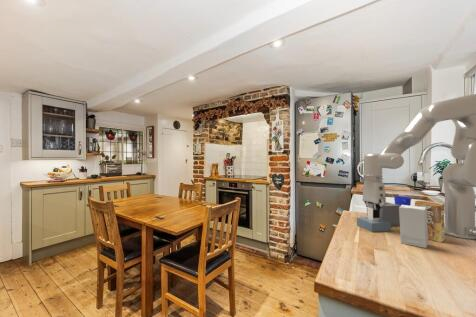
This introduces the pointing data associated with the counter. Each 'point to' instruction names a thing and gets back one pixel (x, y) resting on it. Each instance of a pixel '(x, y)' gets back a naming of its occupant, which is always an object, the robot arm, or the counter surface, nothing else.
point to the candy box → (434, 219)
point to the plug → (371, 212)
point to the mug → (402, 200)
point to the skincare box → (413, 225)
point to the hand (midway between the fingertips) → (373, 216)
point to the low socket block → (374, 224)
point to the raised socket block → (390, 213)
